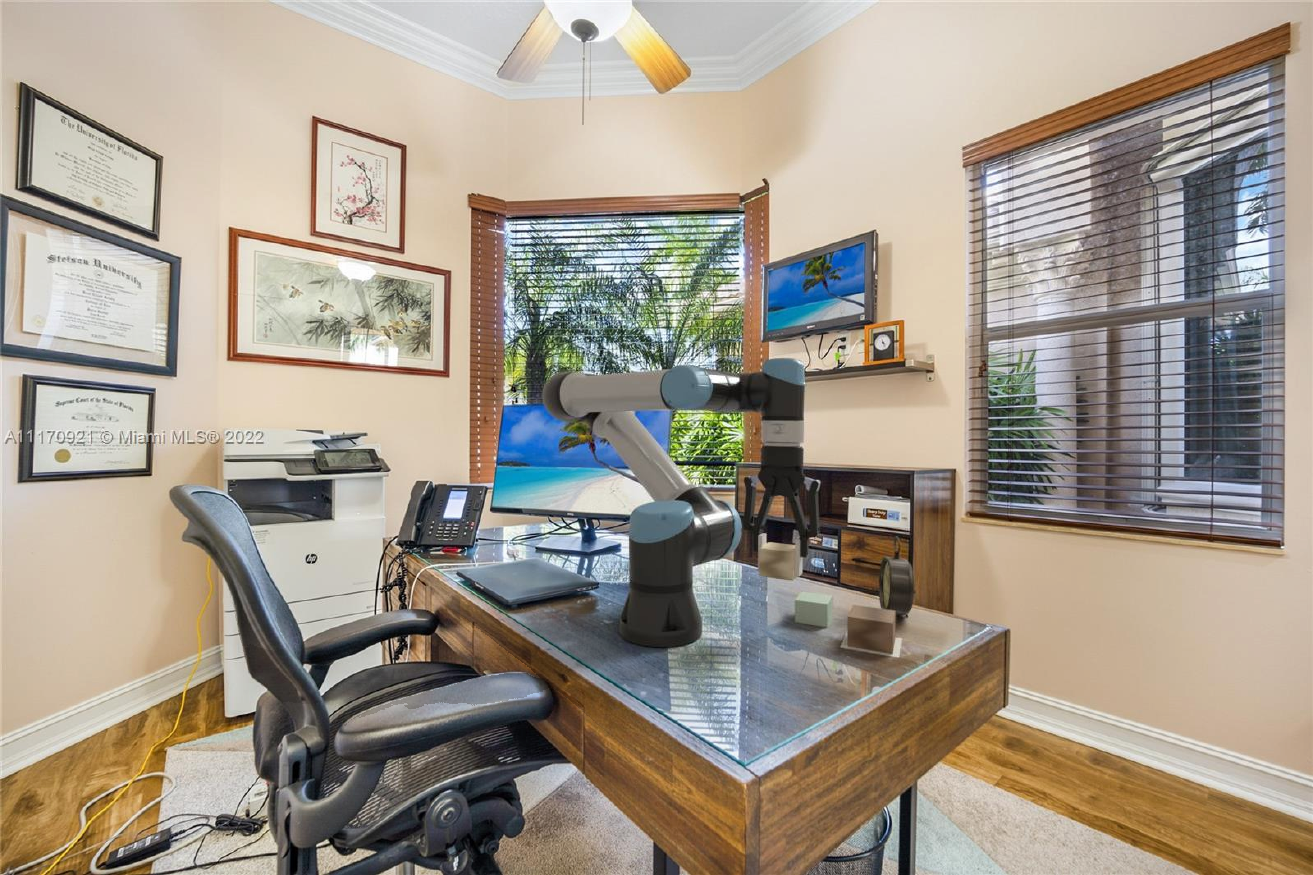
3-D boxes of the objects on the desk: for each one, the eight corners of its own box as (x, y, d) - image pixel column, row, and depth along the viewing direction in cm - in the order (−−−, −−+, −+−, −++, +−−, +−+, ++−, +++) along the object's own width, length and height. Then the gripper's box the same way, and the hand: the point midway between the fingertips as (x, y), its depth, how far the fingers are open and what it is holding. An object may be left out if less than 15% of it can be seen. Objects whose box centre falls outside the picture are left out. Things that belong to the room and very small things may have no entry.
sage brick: (794, 626, 101) (794, 599, 101) (801, 616, 106) (801, 591, 106) (827, 631, 98) (827, 604, 98) (832, 621, 103) (832, 595, 103)
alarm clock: (877, 608, 110) (877, 531, 110) (905, 610, 109) (905, 532, 109) (887, 627, 100) (888, 541, 100) (918, 629, 99) (919, 542, 98)
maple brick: (759, 576, 95) (759, 548, 95) (767, 568, 100) (768, 542, 100) (792, 580, 92) (793, 552, 92) (800, 572, 97) (800, 545, 97)
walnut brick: (847, 646, 89) (847, 616, 89) (852, 632, 96) (853, 604, 95) (892, 654, 86) (892, 623, 86) (895, 639, 92) (895, 610, 92)
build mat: (840, 650, 89) (840, 647, 89) (847, 632, 97) (847, 629, 97) (899, 661, 85) (899, 657, 85) (902, 641, 93) (902, 638, 93)
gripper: (725, 443, 97) (723, 569, 97) (833, 446, 88) (830, 585, 88) (738, 443, 103) (736, 561, 104) (840, 445, 95) (837, 574, 95)
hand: (779, 571), depth 96 cm, fingers closed on maple brick, 6 cm apart
